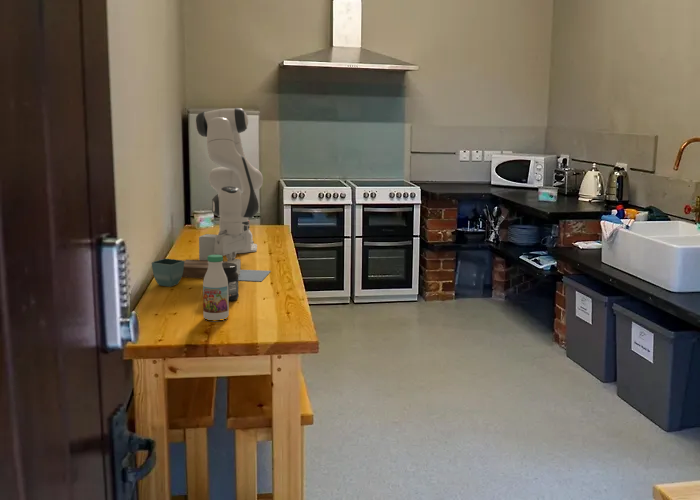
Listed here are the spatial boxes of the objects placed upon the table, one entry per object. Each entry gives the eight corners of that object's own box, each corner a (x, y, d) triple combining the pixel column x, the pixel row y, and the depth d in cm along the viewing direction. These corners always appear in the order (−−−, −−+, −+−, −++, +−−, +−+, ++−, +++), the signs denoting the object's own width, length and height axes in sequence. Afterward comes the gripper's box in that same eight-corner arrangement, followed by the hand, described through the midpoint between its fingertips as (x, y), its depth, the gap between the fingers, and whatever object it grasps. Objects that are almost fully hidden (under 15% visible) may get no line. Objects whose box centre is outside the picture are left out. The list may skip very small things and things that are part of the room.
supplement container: (211, 294, 241) (211, 261, 239) (241, 295, 241) (241, 262, 239) (204, 302, 231) (203, 267, 229) (235, 303, 231) (235, 268, 229)
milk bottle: (205, 315, 217) (203, 253, 213) (229, 315, 217) (229, 253, 214) (202, 322, 209) (200, 258, 205) (227, 322, 210) (226, 258, 206)
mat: (234, 270, 281) (234, 269, 281) (270, 271, 280) (270, 270, 279) (223, 280, 263) (223, 279, 263) (261, 281, 262) (261, 281, 262)
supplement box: (215, 267, 285) (215, 237, 283) (198, 266, 287) (198, 236, 284) (222, 263, 292) (221, 234, 290) (205, 262, 294) (205, 233, 291)
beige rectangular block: (235, 258, 272) (240, 259, 272) (235, 273, 273) (240, 273, 273) (225, 263, 264) (230, 263, 263) (225, 278, 265) (230, 278, 264)
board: (186, 269, 280) (186, 259, 280) (230, 270, 279) (229, 261, 278) (175, 276, 267) (175, 266, 266) (220, 278, 265) (220, 268, 264)
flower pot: (185, 283, 257) (185, 260, 255) (172, 288, 248) (171, 264, 247) (165, 281, 259) (164, 258, 258) (151, 286, 251) (150, 262, 249)
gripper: (224, 233, 258) (225, 268, 260) (249, 225, 277) (250, 259, 279) (210, 231, 260) (210, 267, 262) (235, 224, 279) (236, 257, 281)
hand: (231, 263), depth 271 cm, fingers closed
